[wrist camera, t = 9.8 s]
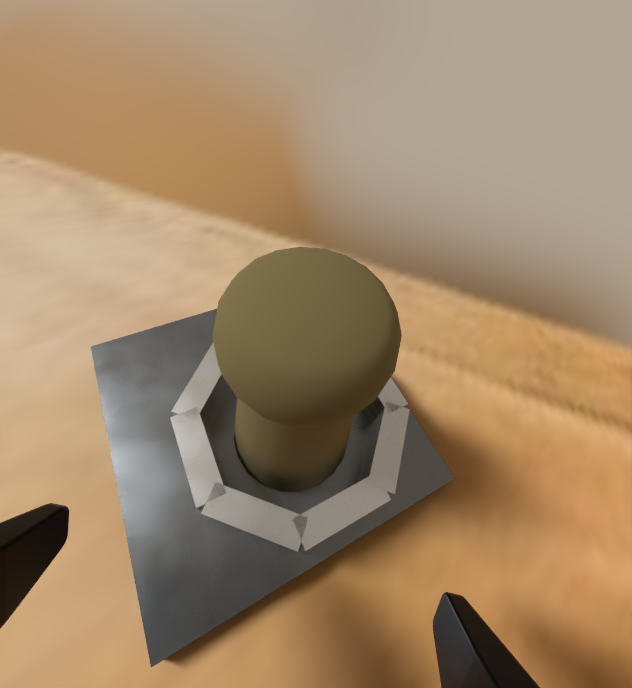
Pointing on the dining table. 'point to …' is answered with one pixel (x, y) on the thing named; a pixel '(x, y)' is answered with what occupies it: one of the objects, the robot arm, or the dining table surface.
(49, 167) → the dining table surface
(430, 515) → the dining table surface
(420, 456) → the socket block
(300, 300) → the cork
